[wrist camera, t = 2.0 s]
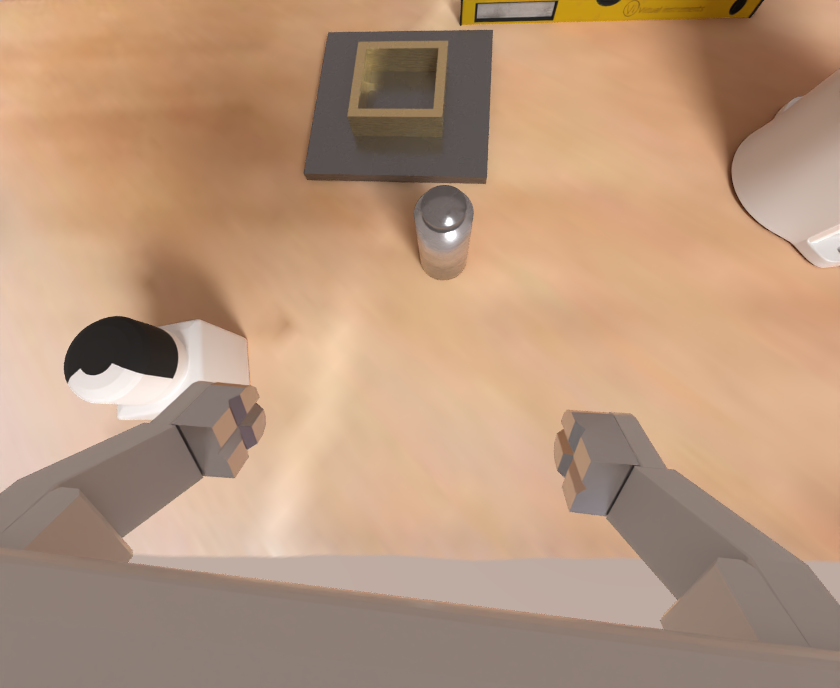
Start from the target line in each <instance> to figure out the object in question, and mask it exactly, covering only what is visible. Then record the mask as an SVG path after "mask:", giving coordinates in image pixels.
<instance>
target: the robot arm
mask: <svg viewBox="0 0 840 688" xmlns="http://www.w3.org/2000/svg"><path fill="white" fill-rule="evenodd" d="M732 181H733V185H734V188H735V191H736V194H737V196H738V198H739V200H740V201H741V203H742V205H743V206H744V207H745V209H746V210H747V211H748V212H749V214H750V215H751V216H752V217H753V218H754V219H755V220H757V221H758V222H759V223H760V224H761V225H763V226H764V227H765V228H767V229H768V230H770V231H772V232H773V233H775V234H777V235H779V236H781V237H782V238H784V239H786V240H788V241H789V242H791V243H792V244H793V245H794V246H795V247H796V248H797V249H798V250H799V251H800V252H801V253H802V255H803V256H804V257H805V258H806V259H807V260H809V261H810V262H811V263H812V264H814V265H815V266H818V267H822V268H827V267H835V266H840V68H839V69H838V70H837V71H835V72H834V73H833V74H831V75H830V76H829V77H828V78H826V79H825V80H824V81H822V82H821V83H820V84H819V85H817V86H816V87H815V88H813V89H812V90H811V91H810V92H808V93H807V94H806V95H804V96H800V97H796V98H794V99H792V100H791V101H790V102H788V103H787V104H786V105H784V106H783V107H782V108H781V109H780V110H779V112H778V113H777V114H776V116H775V117H774V119H773V120H772V121H770V122H769V123H767V124H766V125H764V126H763V127H761V128H759V129H758V130H756V131H755V132H753V133H752V134H750V135H749V136H748V137H747V138H746V139H745V140H744V141H743V142H742V143H741V145H740V146H739V148H738V149H737V151H736V153H735V156H734V159H733V163H732ZM258 399H259V394H258V392H257V389H256V387H253V386H251V385H241V384H231V383H221V382H208V381H197V382H194V383H192V384H191V385H190V386H189V387H188V388H187V389H186V390H185V391H184V392H182V393H181V394H180V395H179V396H178V397H177V398H176V399H175V400H174V401H173V402H172V403H171V404H170V405H169V406H167V407H166V408H165V409H164V410H163V411H162V412H161V413H160V414H159V415H158V416H157V417H156V418H155V419H154V420H152V421H151V422H150V423H142V424H140V425H138V426H136V427H133V428H131V429H129V430H127V431H125V432H122V433H120V434H118V435H116V436H114V437H111V438H109V439H107V440H105V441H103V442H100V443H98V444H96V445H94V446H92V447H89V448H87V449H85V450H83V451H81V452H78V453H76V454H74V455H72V456H70V457H67V458H65V459H63V460H61V461H59V462H56V463H54V464H52V465H50V466H48V467H45V468H43V469H41V470H39V471H37V472H34V473H32V474H30V475H28V476H26V477H23V478H21V479H19V480H17V481H16V482H14V483H13V484H12V485H11V486H9V487H8V488H7V489H6V490H4V491H3V492H2V493H0V688H840V605H839V604H838V602H837V601H836V600H835V599H834V597H833V596H832V595H831V594H830V592H829V591H828V590H827V589H826V587H825V586H824V585H823V584H822V582H821V581H820V580H819V579H818V578H817V576H816V575H815V574H814V572H813V571H812V570H811V569H810V567H809V566H808V565H807V564H805V563H804V562H803V561H801V560H800V559H798V558H797V557H796V556H794V555H793V554H791V553H790V552H789V551H787V550H786V549H784V548H783V547H782V546H780V545H779V544H778V543H776V542H775V541H773V540H772V539H771V538H769V537H768V536H766V535H765V534H764V533H762V532H761V531H759V530H758V529H757V528H755V527H754V526H752V525H751V524H750V523H748V522H747V521H745V520H744V519H743V518H741V517H740V516H738V515H737V514H736V513H734V512H733V511H731V510H730V509H729V508H727V507H726V506H725V505H723V504H722V503H720V502H719V501H718V500H716V499H715V498H713V497H712V496H711V495H709V494H708V493H706V492H705V491H704V490H702V489H701V488H699V487H698V486H697V485H695V484H694V483H692V482H691V481H690V480H688V479H687V478H685V477H684V476H683V475H681V474H680V473H678V472H677V471H676V470H672V469H667V467H666V466H665V464H664V463H663V461H662V459H661V458H660V456H659V454H658V453H657V451H656V450H655V448H654V446H653V445H652V443H651V442H650V440H649V438H648V437H647V435H646V433H645V432H644V430H643V429H642V427H641V425H640V424H639V422H638V421H637V419H636V417H635V416H633V415H632V414H628V413H611V412H609V413H606V412H592V411H578V410H566V411H565V413H564V414H563V417H562V420H561V422H562V425H563V428H564V429H563V430H561V431H560V432H559V433H557V435H556V439H555V443H554V458H555V464H556V468H557V471H558V472H559V473H560V474H561V475H562V476H563V477H564V478H565V479H564V482H563V485H562V489H563V492H564V496H565V499H566V503H567V506H568V509H569V512H575V513H583V514H591V515H599V516H607V520H608V521H609V522H610V523H611V524H612V525H613V527H614V528H615V529H616V530H617V531H618V532H619V533H620V535H621V536H622V537H623V538H624V539H625V540H626V541H627V543H628V544H629V545H630V546H631V547H632V548H633V549H634V551H635V552H636V553H637V554H638V555H639V556H640V558H641V559H642V560H643V561H644V562H645V563H646V564H647V566H648V567H649V568H650V569H651V570H652V571H653V572H654V574H655V575H656V576H657V577H658V578H659V579H660V580H661V582H662V583H663V584H664V585H665V586H666V587H667V589H668V590H669V591H670V592H671V593H672V594H673V595H674V597H675V598H676V599H677V601H676V602H675V603H674V604H673V605H672V606H671V607H670V608H669V609H668V611H667V612H666V613H665V614H664V615H663V617H662V618H661V620H660V621H661V624H662V626H663V629H657V628H649V627H641V626H633V625H625V624H616V623H609V622H601V621H592V620H585V619H577V618H569V617H561V616H553V615H545V614H537V613H529V612H520V611H513V610H504V609H496V608H489V607H481V606H473V605H465V604H456V603H449V602H441V601H433V600H424V599H417V598H409V597H401V596H393V595H385V594H377V593H369V592H361V591H352V590H344V589H337V588H328V587H320V586H312V585H304V584H296V583H288V582H280V581H272V580H264V579H256V578H248V577H240V576H232V575H224V574H216V573H208V572H200V571H192V570H184V569H175V568H168V567H160V566H152V565H151V566H150V565H144V564H135V563H128V562H129V560H130V559H131V558H132V556H133V551H132V549H131V548H130V547H129V545H128V544H127V543H126V542H125V541H124V540H123V539H122V537H124V536H125V535H127V534H128V533H129V532H131V531H132V530H133V529H135V528H136V527H137V526H139V525H140V524H141V523H143V522H144V521H145V520H147V519H148V518H149V517H151V516H152V515H153V514H155V513H156V512H158V511H159V510H160V509H162V508H163V507H164V506H166V505H167V504H168V503H170V502H171V501H172V500H174V499H175V498H176V497H178V496H179V495H180V494H182V493H183V492H184V491H186V490H187V489H189V488H190V487H191V486H193V485H194V484H195V483H197V482H198V481H199V480H201V479H202V478H203V476H211V477H225V478H235V477H236V476H237V474H238V473H239V471H240V469H241V468H242V466H243V465H244V463H245V462H246V460H247V459H248V457H249V455H248V449H249V448H251V447H252V446H254V445H256V444H257V443H258V442H259V440H260V438H261V437H262V435H263V432H264V429H265V425H266V416H265V413H264V409H263V408H261V407H260V406H259V405H258V404H257V403H256V402H257V400H258Z"/></svg>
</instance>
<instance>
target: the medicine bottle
mask: <svg viewBox="0 0 840 688" xmlns="http://www.w3.org/2000/svg"><path fill="white" fill-rule="evenodd" d="M64 374H65V379H66V381H67V384H68V385H69V387H70V388H71V390H72V391H73V392H74V393H75V394H76V395H77V396H78V397H79V398H81V399H83V400H84V401H87V402H90V403H98V404H117V418H118V419H120V420H154V419H155V418H156V417H157V416H158V415H159V414H160V413H161V412H162V411H163V410H164V409H165V408H166V407H167V406H169V405H170V404H171V403H172V402H173V401H174V400H175V399H176V398H177V397H178V396H179V395H180V394H181V393H182V392H184V391H185V390H186V389H187V388H188V387H189V386H190V385H191V384H192V383H194V382H197V381H208V382H221V383H231V384H241V385H250V379H249V364H248V349H247V339H246V338H245V337H242V336H240V335H237V334H235V333H232V332H230V331H228V330H225V329H223V328H220V327H218V326H215V325H213V324H210V323H208V322H206V321H203V320H201V319H195V320H190V321H185V322H180V323H175V324H169V325H164V326H159V327H155V326H152V325H149V324H146V323H143V322H140V321H136V320H133V319H130V318H127V317H122V316H114V317H108V318H104V319H101V320H99V321H96V322H94V323H92V324H90V325H89V326H87V327H86V328H85V329H83V330H82V331H81V332H80V333H79V334H78V335H77V336H76V337H75V339H74V340H73V341H72V343H71V345H70V346H69V349H68V351H67V354H66V357H65V362H64Z"/></svg>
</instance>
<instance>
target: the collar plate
mask: <svg viewBox="0 0 840 688" xmlns="http://www.w3.org/2000/svg"><path fill="white" fill-rule="evenodd" d="M492 38H493V30H459V31H393V32H328V37H327V43H326V49H325V54H324V60H323V66H322V72H321V78H320V83H319V89H318V95H317V101H316V106H315V112H314V118H313V124H312V130H311V135H310V141H309V147H308V153H307V158H306V164H305V170H304V175H305V176H306V178H307V180H341V181H387V182H432V183H478V184H486V179H487V160H488V135H489V111H490V87H491V62H492Z"/></svg>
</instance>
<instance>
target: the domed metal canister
mask: <svg viewBox="0 0 840 688" xmlns="http://www.w3.org/2000/svg"><path fill="white" fill-rule="evenodd" d="M473 214H474V213H473V206H472V203H471V201H470V200H469V198H468V197H467V196H466V195H465V194H464V193H463V192H461V191H460V190H459V189H457V188H455V187H453V186H449V185H440V186H436V187H434V188H432V189H430V190H429V191H428V192H426V193H425V194H424V195H423V196H422V197H421V198H420V199H419V200H418V202H417V204H416V206H415V210H414V219H415V226H416V233H417V240H418V246H419V253H420V260H421V265H422V268H423V270H424V271H425V272H426V274H428V275H429V276H430V277H432V278H434V279H437V280H449V279H452V278H455V277H456V276H458V275H459V274H460V273H461V272H462V271H463V270H464V268H465V266H466V262H467V255H468V248H469V242H470V235H471V228H472V221H473Z"/></svg>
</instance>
